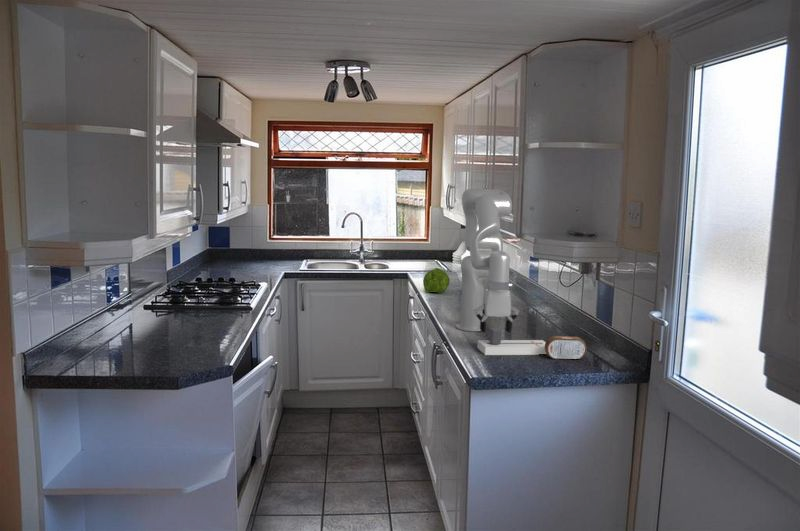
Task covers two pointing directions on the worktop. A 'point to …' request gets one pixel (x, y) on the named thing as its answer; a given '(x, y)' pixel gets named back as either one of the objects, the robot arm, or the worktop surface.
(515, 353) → the console
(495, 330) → the fader tab
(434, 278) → the lettuce
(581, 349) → the tin
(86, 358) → the worktop surface
